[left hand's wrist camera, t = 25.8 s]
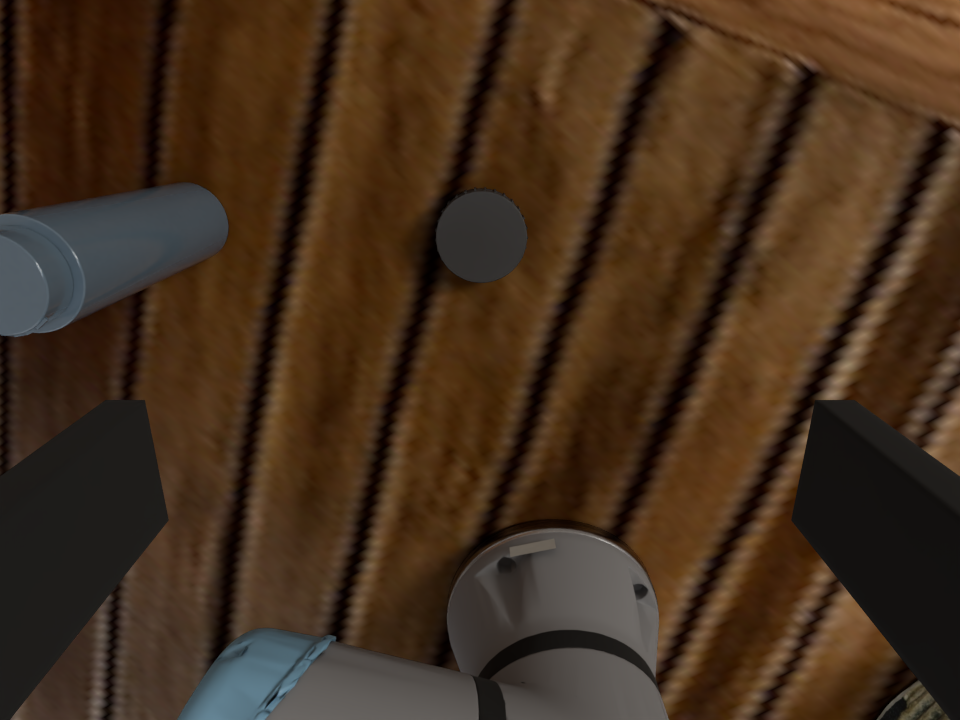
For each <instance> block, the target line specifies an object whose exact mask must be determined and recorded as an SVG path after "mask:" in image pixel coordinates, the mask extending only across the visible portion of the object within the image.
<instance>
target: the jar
mask: <svg viewBox="0 0 960 720" xmlns="http://www.w3.org/2000/svg"><path fill="white" fill-rule="evenodd" d="M227 236H228V220H227V215H226V213H225V210H224V208H223V206H222V205H221V203H220V202H219V200H218V199H217V198H216V197H215V196H214V195H213V194H212V193H211V192H209V191H208V190H206V189H205V188H203V187H201V186H199V185H196V184H192V183H185V182H181V183H174V184H168V185H162V186H157V187H151V188H146V189H140V190H134V191H129V192H123V193H117V194H112V195H106V196H100V197H95V198H89V199H84V200H78V201H72V202H67V203H61V204H55V205H50V206H44V207H38V208H33V209H27V210H22V211H16V212H10V213H5V214H0V335H1V336H14V337H18V336H23V335H29V334H31V333H46V332H52V331H56V330H58V329H61V328H63V327H65V326H67V325H69V324H71V323H74V322H76V321H78V320H80V319H82V318H84V317H86V316H88V315H90V314H92V313H95V312H97V311H99V310H101V309H103V308H105V307H107V306H109V305H111V304H113V303H116V302H118V301H120V300H122V299H124V298H126V297H128V296H130V295H132V294H134V293H137V292H139V291H141V290H143V289H145V288H147V287H149V286H151V285H153V284H156V283H158V282H160V281H162V280H164V279H166V278H168V277H170V276H172V275H174V274H177V273H179V272H181V271H183V270H185V269H187V268H189V267H191V266H193V265H195V264H198V263H200V262H202V261H204V260H206V259H208V258H210V257H212V256H214V255H215V254H216V253H218V252H219V251H220V250H221V248H222V247H223V245H224V244H225V242H226V239H227Z"/></svg>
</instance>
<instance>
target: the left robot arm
mask: <svg viewBox="0 0 960 720" xmlns="http://www.w3.org/2000/svg"><path fill="white" fill-rule="evenodd" d="M167 522H168V515H167V510H166V505H165V500H164V495H163V490H162V485H161V480H160V474H159V469H158V464H157V459H156V454H155V449H154V444H153V439H152V434H151V429H150V424H149V419H148V414H147V409H146V404H145V400H105V401H104V402H102V403H101V404H100V405H98V406H97V407H96V408H94V409H93V410H91V411H90V412H89V413H87V414H86V415H84V416H83V417H82V418H80V419H79V420H78V421H76V422H75V423H73V424H72V425H71V426H69V427H68V428H67V429H65V430H64V431H62V432H61V433H60V434H58V435H57V436H55V437H54V438H53V439H51V440H50V441H49V442H47V443H46V444H44V445H43V446H42V447H40V448H39V449H38V450H36V451H35V452H33V453H32V454H31V455H29V456H28V457H26V458H25V459H24V460H22V461H21V462H20V463H18V464H17V465H15V466H14V467H13V468H11V469H10V470H9V471H7V472H6V473H4V474H3V475H2V476H0V720H10V719H11V718H12V716H13V715H14V714H15V712H16V711H17V710H18V709H19V707H20V706H21V705H22V704H23V702H24V701H25V700H26V699H27V697H28V696H29V695H30V694H31V692H32V691H33V690H34V689H35V687H36V686H37V685H38V684H39V682H40V681H41V680H42V679H43V677H44V676H45V675H46V674H47V672H48V671H49V670H50V669H51V667H52V666H53V665H54V664H55V662H56V661H57V660H58V658H59V657H60V656H61V655H62V653H63V652H64V651H65V650H66V648H67V647H68V646H69V645H70V643H71V642H72V641H73V640H74V638H75V637H76V636H77V635H78V633H79V632H80V631H81V630H82V628H83V627H84V626H85V625H86V623H87V622H88V621H89V620H90V618H91V617H92V616H93V615H94V613H95V612H96V611H97V609H98V608H99V607H100V606H101V604H102V603H103V602H104V601H105V599H106V598H107V597H108V596H109V594H110V593H111V592H112V591H113V589H114V588H115V587H116V586H117V584H118V583H119V582H120V581H121V579H122V578H123V577H124V576H125V574H126V573H127V572H128V571H129V569H130V568H131V567H132V566H133V564H134V563H135V562H136V561H137V559H138V558H139V557H140V555H141V554H142V553H143V552H144V550H145V549H146V548H147V547H148V545H149V544H150V543H151V542H152V540H153V539H154V538H155V537H156V535H157V534H158V533H159V532H160V530H161V529H162V528H163V527H164V525H165V524H166V523H167ZM792 522H793V523H794V524H795V525H796V527H797V528H798V529H799V530H800V532H801V533H802V534H803V535H804V537H805V538H806V539H807V540H808V542H809V543H810V544H811V545H812V547H813V548H814V549H815V550H816V552H817V553H818V554H819V555H820V557H821V558H822V559H823V561H824V562H825V563H826V564H827V566H828V567H829V568H830V569H831V571H832V572H833V573H834V574H835V576H836V577H837V578H838V579H839V581H840V582H841V583H842V584H843V586H844V587H845V588H846V589H847V591H848V592H849V593H850V594H851V596H852V597H853V598H854V599H855V601H856V602H857V603H858V604H859V606H860V607H861V608H862V610H863V611H864V612H865V613H866V615H867V616H868V617H869V618H870V620H871V621H872V622H873V623H874V625H875V626H876V627H877V628H878V630H879V631H880V632H881V633H882V635H883V636H884V637H885V638H886V640H887V641H888V642H889V643H890V645H891V646H892V647H893V648H894V650H895V651H896V652H897V653H898V655H899V656H900V657H901V658H902V660H903V661H904V662H905V664H906V665H907V666H908V667H909V669H910V670H911V671H912V672H913V674H914V675H915V676H916V677H917V679H918V680H919V681H920V682H921V684H922V685H923V686H924V687H925V689H926V690H927V691H928V692H929V694H930V695H931V696H932V697H933V699H934V700H935V701H936V702H937V704H938V705H939V706H940V707H941V709H942V710H943V711H944V712H945V714H946V715H947V716H948V718H949V719H950V720H960V476H958V475H957V474H956V473H954V472H953V471H951V470H950V469H949V468H947V467H946V466H945V465H943V464H942V463H940V462H939V461H938V460H936V459H935V458H934V457H932V456H931V455H929V454H928V453H927V452H925V451H924V450H922V449H921V448H920V447H918V446H917V445H916V444H914V443H913V442H911V441H910V440H909V439H907V438H906V437H905V436H903V435H902V434H900V433H899V432H898V431H896V430H895V429H893V428H892V427H891V426H889V425H888V424H887V423H885V422H884V421H882V420H881V419H880V418H878V417H877V416H876V415H874V414H873V413H871V412H870V411H869V410H867V409H866V408H864V407H863V406H862V405H860V404H859V403H858V402H856V401H855V400H815V404H814V409H813V414H812V419H811V424H810V429H809V434H808V439H807V444H806V449H805V454H804V459H803V464H802V469H801V474H800V480H799V485H798V490H797V495H796V500H795V505H794V510H793V515H792ZM447 627H448V633H449V639H450V643H451V647H452V650H453V653H454V655H455V658H456V661H457V664H458V666H459V669H460V672H458V671H454V670H450V669H446V668H442V667H437V666H433V665H429V664H425V663H421V662H417V661H412V660H408V659H404V658H400V657H396V656H391V655H387V654H383V653H379V652H375V651H370V650H366V649H362V648H359V647H355V646H351V645H347V644H343V643H339V642H335V641H336V637H335V636H332V635H326V636H324V637H317V636H312V635H306V634H301V633H295V632H290V631H285V630H279V629H274V628H259V629H254V630H251V631H249V632H247V633H245V634H243V635H241V636H240V637H238V638H237V639H235V640H234V641H233V642H232V643H231V644H230V645H229V646H228V647H227V648H226V649H225V650H224V651H223V652H222V653H221V654H220V655H219V657H218V658H217V659H216V660H215V662H214V663H213V664H212V666H211V667H210V669H209V670H208V671H207V673H206V674H205V676H204V677H203V679H202V680H201V682H200V683H199V685H198V686H197V688H196V689H195V691H194V692H193V694H192V696H191V697H190V699H189V700H188V702H187V704H186V705H185V707H184V709H183V710H182V712H181V714H180V715H179V717H178V719H177V720H669V719H668V716H667V713H666V710H665V707H664V704H663V701H662V698H661V695H660V692H659V689H658V686H657V682H656V679H655V672H656V658H657V643H658V629H659V613H658V605H657V598H656V594H655V591H654V588H653V585H652V583H651V580H650V577H649V575H648V573H647V570H646V568H645V566H644V565H643V563H642V561H641V560H640V559H639V557H638V556H637V555H636V553H635V552H634V551H633V550H632V549H631V548H630V547H629V546H628V545H626V544H625V543H624V542H623V541H621V540H620V539H619V538H617V537H616V536H614V535H612V534H611V533H609V532H607V531H605V530H602V529H600V528H598V527H595V526H592V525H589V524H585V523H581V522H576V521H570V520H540V521H533V522H527V523H523V524H520V525H516V526H513V527H511V528H508V529H505V530H503V531H501V532H499V533H497V534H495V535H493V536H492V537H490V538H488V539H487V540H485V541H484V542H483V543H481V544H480V545H479V546H478V547H476V548H475V549H474V550H473V551H472V552H471V553H470V554H469V555H468V556H467V557H466V559H465V560H464V561H463V563H462V564H461V565H460V567H459V569H458V570H457V572H456V574H455V576H454V578H453V581H452V584H451V587H450V591H449V596H448V609H447Z"/></svg>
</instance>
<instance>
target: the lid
mask: <svg viewBox="0 0 960 720" xmlns="http://www.w3.org/2000/svg"><path fill="white" fill-rule="evenodd" d="M519 210H520V209H519V207H518V206H516V205H515V204H514V203H513V200H512V199H511V200H510V199H509V198H508V197H506V196H505V194H504V193H503V194H502V193H500V192H497V191H496V189H494V190H491V189H486V187H484V189H476V188H474V189H472V190H469V191H467V190H465V191H464V192H463V193H461V194H459V195H458V194H457V195H456V196H455V198H454V199H453V200H451V201H450V200H449V201H448V205H447V206H446V208H445V209H444V208H443V210H442V215H441V217H439V218H438V221H437V222H438V225H437V227H436V229H435V232H436V239H435V242H436V244H437V251H438V252H439V255H440V257H441V260H442V261H443V262H444V264H445V265H446V266H447V268H448V269H450V270H451V271H452V272H453V273H454V274H456V275H457V276H459V277H460V278H462V279H465V280H467V281H471V282H478V283H485V282H492V281H495V280H498V279H500V278H502V277H504V276H506V275H507V274H509V273H510V272H511V271H512V270H513V269H514V268H515V267H516V266H517V265H518V263H519V262H520V260H521V259H522V257H523V254H524V252H525V249H526V243H527V239H528V237H527V231H526V229H527V226H526V224H525V222H524V219H525V218H524V216H523V215H521V213H520V211H519Z"/></svg>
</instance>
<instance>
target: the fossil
mask: <svg viewBox="0 0 960 720" xmlns="http://www.w3.org/2000/svg"><path fill="white" fill-rule="evenodd" d="M877 720H950V719H949V718H948V716H947V715H946V714H945V712H944V711H943V710H942V709H941V707H940V706H939V705H938V704H937V702H936V701H935V700H934V699H933V697H932V696H931V695H930V694H929V692H928V691H927V690H926V689H925V687H924V686H923V685H922V684H921V682H920V681H919V680H918V681H916V682H915V683H914V684H912V685H911V686H910V687H908V688H907V689H906V690H904V691H903V692H902V693H901V694H899V695H898V696H897V697H896V698H895V699H894V700H892V701H891V702H890V704H889V705H888V706H887V707H886V708H885V709H884V710H883V712H882V713H881V715H880V716H879V717H878V719H877Z"/></svg>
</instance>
